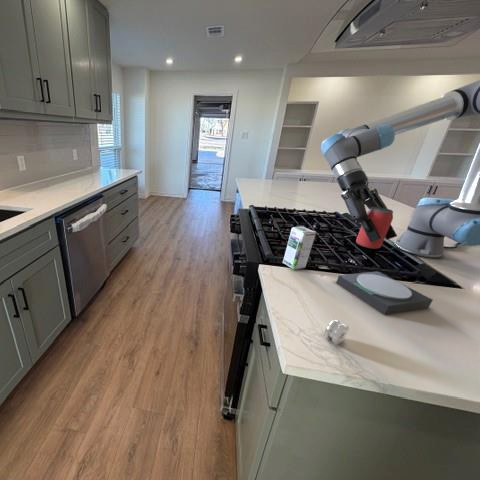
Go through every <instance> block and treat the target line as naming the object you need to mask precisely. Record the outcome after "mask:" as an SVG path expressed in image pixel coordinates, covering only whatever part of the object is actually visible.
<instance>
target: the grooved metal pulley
mask: <svg viewBox="0 0 480 480" xmlns="http://www.w3.org/2000/svg"><path fill="white" fill-rule="evenodd" d="M340 323H341V322H340V320H338V319H333V320H331V321H330V322H329V323H328V325H327V326H326V328H325V329H324V333H323V335H324V337H325V339H327V340H330V339H331V342H332V343H334V344H335V345H339V344H340V343H341V342H342V341H343V340H344V339H345V337H346V335H348V332H349V330H350V329H349V328H350V327H349V326H348V325H347V324H346V323H345V324H344V323H342V324H340Z"/></svg>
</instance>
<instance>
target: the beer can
mask: <svg viewBox="0 0 480 480" xmlns="http://www.w3.org/2000/svg"><path fill="white" fill-rule="evenodd" d="M366 212H367V216H368V219H367V220H369V219H371V220H372V222H373V224H374V226H375V228H376V230H377V232H378V233H379V235H380V237H381V239H379V240H376V241H373V242H370V240H369V238H368V236H367V234H366V232H365V231H364V229H363V227H362V225H361V226H360V229H359V231H358V234H357V237H356V240H355V242H356V244H358V245H359V246H361V247H364V248H367V249H375V250H376V249H379V248H382V246H383V244H384V241H385V240H386V238H385V236H386V234H387V232H388V229H389V227H390V224H391V225H392V222H393V219H394V210H392V209H389V208H387V209H386V208H381V207H371V208H370V210H369V209H368V211H366Z"/></svg>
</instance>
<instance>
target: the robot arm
mask: <svg viewBox="0 0 480 480" xmlns="http://www.w3.org/2000/svg"><path fill="white" fill-rule="evenodd" d="M469 116H480V79H479V80H475V81H474V82H471V83H468V84H466V85H463V86H461V87H457V88H455V89H452V90H449V91H447V92H444V94H442V95H441V97H439V98H436V99H433V100H430V101H427V102H425V103H422V104H418V105H416V106H413V107H410V108H408V109H404V110H402V111H398V112H396V113H393V114H391V115H386V116H384V117H382V118H379V119H376V120H373V121H370V122H367V123H364V124H362V125H358V126H355V127H353V128H345V129H341V130H340V131H338V132H337V133H333V134H332V135H330V136H328V137H326V138H325V139H324V140H323V141H322V143H321V144H320V150H321V153H322V155H323V157H324V159H325V161H326V162H327V164H328V166H329V168H330V170H331V171H332V174H333V175H334V178H335V180H336V181H337V184H338V186H339V188H340V191H342V193H340V197H341V199H342V200H343V201H344V203H345V205H346V208H347V210H348V213H349V215H350V218H351V220H352V221H353V222H354V223H355V224H357V225H358V224H360V225H361V226H362V227H363V229H364V231H365V232H366V234H367V236H368V238H369V240H370V242H373V241H376V240H379V239H381V237H380V235H379V233H378V232H377V230H376V228H375V226H374V224H373V222H372V220H371V219H369V220H367V219H368V216H367V212H368V211H369V210H370V208H371V207H381V208H386V209H388V207H387V206H386V204H385V203H384V201H383V199H382V197H381V196H380V195H379V192H378V189H377V188H373V189H370V188H369V186H368V185H367V182H369V177H368V176H367V174H366V171H364V170H363V169H364V168H363V167H362V165H361V163H360V161H359V160H358V158H359V157H362V156H365V155H368V154H371V153H374V152H376V151H381V150H383V149H386V148H388V147H389V146H391V145H392V144H393V143H394V141H395V139H396V136H397V135H401V134H403V133H407V132H409V131H412V130H416V129H419V128H422V127H424V126H429V125H431V124H434V123H437V122H440V121H443V120H446V121H452V120H455V119H458V118H459V119H460V118H463V117H469ZM367 208H368V211H367ZM396 237H398V235H397V233H396V231H395V230H394V227H393V226H392V223H391V224H390V227H389V229H388V232H387V234H386V236H385V241H386V240H390V239H393V238H396ZM445 238H448V239H450V240H452V241H453V242H455V245H454V246H445ZM395 244H396V245H397V246H398V247H397V246H396V245H395ZM459 245H465V246H475V247H476V246H480V143H479V145H478V147H477V150H476V152H475V155H474V158H473V160H472V162H471V165H470V168H469V171H468V173H467V175H466V178H465V181H464V183H463V186H462V188H461V191H460V194H459V196H458V198H457V199H449V198H440V197H439V198H438V197H423V198H421V199H420V200H419V202H418V203H417V205H416V206H415V209H414V212H413V213H412V216H411V219H410V220H409V223H408V225H407V228H406V230H405V231H404V232H403V233H402V234H401V235H399V237H398V238H397V239H396V240H395V241H394V244H393V246H394V247H395V248H396V249H397V250H399V251H402V252H404V253H406V254H409V255H413V256H417V257H421V258H427V259H440V258H442V256H443V254H444V249H448V250H454V249H458V247H459ZM399 247H400V248H399Z"/></svg>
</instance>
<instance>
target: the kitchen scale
mask: <svg viewBox="0 0 480 480" xmlns="http://www.w3.org/2000/svg"><path fill="white" fill-rule="evenodd" d="M336 284H337V285H338V286H339V287H342V288H343V289H345V290H346V291H348V293H351V294H352V295H353V296H355V297H356V298H358V299H360V300H361V301H363V302H364V303H366V304H367V305H369V306H370V307H372V308H373V309H375V310H376V311H377V312H379V313H381V314H382V315H384V316H385V315H386V316H387V315H392V314H393V315H394V314H399V313H406V312H412V311H419V310H425V309H429V308H430V306H431V304H432V303H433V301H434V300H433V299H432V298H430V297H429V296H427V295H425V294H422V293H420V292H418V291H417V290H415V289H413V288H411V287H409V286H407V285H405V284H403V283H402V282H400V281H397V280H396V279H394V278H392V277H390V276H388V275H386V274H383V273H382V272H380V271H367V272H359V273H358V272H357V273H348V274H339V275H338V277H337V280H336Z"/></svg>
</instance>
